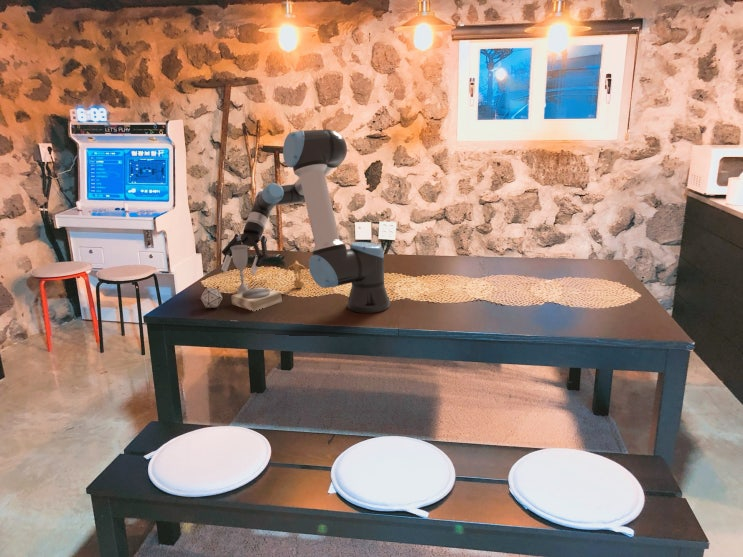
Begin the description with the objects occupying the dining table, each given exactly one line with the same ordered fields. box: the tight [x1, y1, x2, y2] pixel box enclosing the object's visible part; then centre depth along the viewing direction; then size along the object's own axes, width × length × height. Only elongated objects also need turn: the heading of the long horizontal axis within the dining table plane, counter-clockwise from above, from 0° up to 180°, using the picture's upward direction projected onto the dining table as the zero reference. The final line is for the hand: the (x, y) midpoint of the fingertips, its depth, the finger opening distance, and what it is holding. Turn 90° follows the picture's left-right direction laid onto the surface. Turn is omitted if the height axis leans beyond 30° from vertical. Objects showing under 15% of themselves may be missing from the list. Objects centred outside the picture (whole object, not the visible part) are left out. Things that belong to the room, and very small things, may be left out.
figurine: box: [286, 260, 309, 289], centre depth 235 cm, size 8×6×12 cm
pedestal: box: [231, 286, 283, 312], centre depth 221 cm, size 13×13×4 cm
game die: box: [197, 286, 226, 310], centre depth 216 cm, size 9×8×10 cm
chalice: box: [230, 245, 250, 294], centre depth 233 cm, size 7×7×18 cm
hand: (237, 272), depth 231 cm, fingers open, 12 cm apart
